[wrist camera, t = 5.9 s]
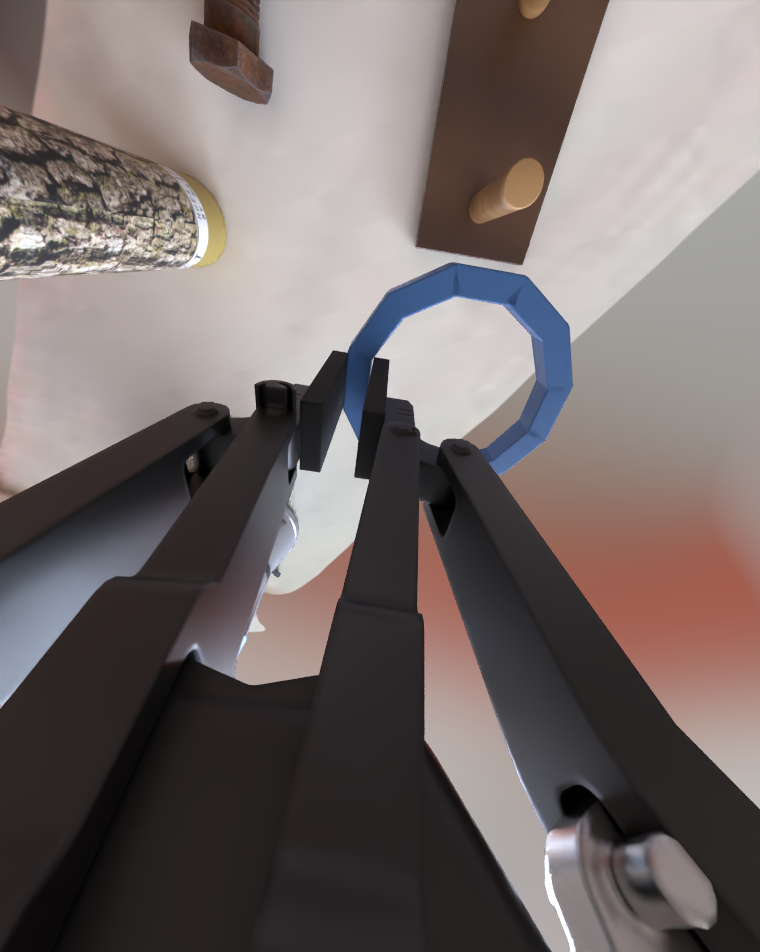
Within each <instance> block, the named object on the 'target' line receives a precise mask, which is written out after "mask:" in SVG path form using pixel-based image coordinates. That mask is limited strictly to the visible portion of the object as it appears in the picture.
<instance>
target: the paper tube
mask: <svg viewBox="0 0 760 952" xmlns="http://www.w3.org/2000/svg"><path fill="white" fill-rule="evenodd" d="M225 244H226V226H225V221H224V217H223V214H222V212H221V209H220V207H219V205H218V203H217V202H216V200H215V199H214V197H213V196H212V194H211V193H210V192H209V191H208V190H207V189H206V188H205V187H204V186H203V185H202V184H201V183H200V182H198V181H197V180H195V179H194V178H192V177H190V176H188V175H185V174H183V173H180V172H177V171H175V170H172V169H169V168H167V167H165V166H163V165H160V164H157V163H155V162H152V161H149V160H147V159H144V158H141V157H139V156H136V155H134V154H131V153H128V152H126V151H123V150H120V149H118V148H115V147H112V146H110V145H107V144H105V143H102V142H99V141H97V140H94V139H91V138H89V137H86V136H83V135H81V134H78V133H76V132H73V131H70V130H68V129H65V128H62V127H60V126H57V125H54V124H52V123H49V122H47V121H44V120H41V119H39V118H36V117H33V116H31V115H28V114H25V113H23V112H20V111H18V110H15V109H12V108H9V107H7V106H4V105H2V104H0V280H13V279H28V278H44V277H59V276H74V275H89V274H104V273H119V272H134V271H149V270H164V269H179V268H189V267H203V266H208V265H210V264H212V263H214V262H215V261H217V260H218V259H219V257H220V256H221V255H222V253H223V251H224V248H225Z"/></svg>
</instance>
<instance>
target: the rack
mask: <svg viewBox="0 0 760 952" xmlns="http://www.w3.org/2000/svg"><path fill="white" fill-rule="evenodd" d="M608 3H609V0H456V2H455V8H454V14H453V20H452V26H451V32H450V38H449V44H448V51H447V57H446V63H445V69H444V75H443V81H442V87H441V93H440V100H439V106H438V112H437V118H436V124H435V130H434V136H433V142H432V149H431V155H430V161H429V167H428V173H427V179H426V185H425V191H424V198H423V204H422V210H421V216H420V222H419V228H418V234H417V240H416V246H415V247H416V248H420V249H426V250H432V251H437V252H443V253H449V254H455V255H461V256H467V257H473V258H479V259H485V260H491V261H497V262H502V263H508V264H514V265H522V264H523V261H524V258H525V255H526V252H527V249H528V246H529V243H530V240H531V237H532V234H533V231H534V228H535V225H536V222H537V219H538V216H539V213H540V210H541V207H542V204H543V201H544V197H545V194H546V191H547V188H548V185H549V182H550V179H551V176H552V173H553V170H554V167H555V164H556V161H557V158H558V155H559V152H560V149H561V146H562V143H563V140H564V137H565V133H566V130H567V127H568V124H569V121H570V118H571V115H572V112H573V109H574V106H575V103H576V100H577V97H578V94H579V91H580V88H581V85H582V82H583V79H584V76H585V73H586V70H587V66H588V63H589V60H590V57H591V54H592V51H593V48H594V45H595V42H596V39H597V36H598V33H599V30H600V27H601V24H602V21H603V18H604V15H605V12H606V9H607V6H608Z"/></svg>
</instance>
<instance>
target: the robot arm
mask: <svg viewBox="0 0 760 952" xmlns="http://www.w3.org/2000/svg"><path fill="white" fill-rule="evenodd" d="M347 359H348V353H345V352H339V351H332V353H331V354H330V356H329V357H328V359H327V360H326V362H325V364H324V365H323V367H322V368H321V370H320V371H319V373H318V374H317V376H316V377H315V379H314V380H313V382H312V383H311V385H310V386H306V385H300V384H294V385H293V384H291V383H288V382H284V381H278V380H267V381H261V382H258V383H256V384H255V385H254V386H255V398H256V410H255V411H254V413H253V414H252V415H251V417H246V418H230V410H229V408H228V407H227V406H225V405H222V404H218V403H214V402H208V403H207V402H201V403H199V404H194V405H191V406H188V407H186V408H184V409H182V410H180V411H178V412H176V413H174V414H173V415H171V416H169V417H167V418H165V419H163V420H161V421H159V422H157V423H155V424H153V425H151V426H149V427H147V428H145V429H143V430H141V431H139V432H137V433H135V434H134V435H132V436H130V437H128V438H126V439H124V440H122V441H120V442H118V443H116V444H114V445H112V446H110V447H108V448H106V449H104V450H102V451H100V452H98V453H97V454H95V455H93V456H91V457H89V458H87V459H85V460H83V461H81V462H79V463H77V464H75V465H73V466H71V467H69V468H67V469H65V470H63V471H61V472H59V473H58V474H56V475H54V476H52V477H50V478H48V479H46V480H44V481H42V482H40V483H38V484H36V485H34V486H32V487H30V488H28V489H26V490H24V491H22V492H20V493H19V494H17V495H15V496H13V497H11V498H9V499H7V500H5V501H3V502H1V503H0V706H1V705H2V704H3V703H4V702H5V701H6V700H7V701H6V703H5V704H4V705H3V706H2V707H1V709H0V952H551V950H550V948H549V947H548V945H547V943H546V941H545V940H544V938H543V936H542V935H541V933H540V931H539V930H538V928H537V927H536V925H535V923H534V921H533V920H532V918H531V916H530V914H529V913H528V911H527V909H526V908H525V906H524V904H523V903H522V901H521V899H520V898H519V896H518V894H517V893H516V891H515V889H514V887H513V886H512V884H511V882H510V881H509V879H508V877H507V876H506V874H505V872H504V871H503V869H502V867H501V866H500V864H499V862H498V861H497V859H496V857H495V855H494V854H493V852H492V850H491V849H490V847H489V845H488V844H487V842H486V840H485V839H484V837H483V835H482V834H481V832H480V830H479V828H478V827H477V825H476V823H475V822H474V820H473V818H472V817H471V815H470V813H469V812H468V810H467V808H466V807H465V805H464V803H463V801H462V800H461V798H460V796H459V795H458V793H457V791H456V790H455V788H454V786H453V785H452V783H451V781H450V779H449V778H448V776H447V774H446V773H445V771H444V769H443V768H442V766H441V764H440V762H439V761H438V759H437V757H436V756H435V754H434V753H433V751H432V750H431V748H430V747H429V745H428V744H427V743H426V741H425V740H424V621H423V617H422V614H420V613H418V611H417V578H418V577H417V576H418V524H419V500H420V501H423V502H424V503H423V507H424V511H425V514H426V516H427V520H428V522H429V525H430V528H431V531H432V534H433V536H434V539H435V542H436V545H437V548H438V551H439V554H440V557H441V560H442V562H443V565H444V568H445V571H446V573H447V576H448V580H449V582H450V585H451V588H452V591H453V594H454V596H455V600H456V602H457V605H458V608H459V611H460V614H461V617H462V620H463V622H464V625H465V628H466V631H467V634H468V637H469V639H470V642H471V645H472V648H473V651H474V654H475V656H476V660H477V662H478V665H479V668H480V671H481V674H482V677H483V679H484V682H485V685H486V688H487V691H488V694H489V697H490V699H491V702H492V705H493V708H494V711H495V714H496V717H497V719H498V722H499V725H500V728H501V731H502V734H503V737H504V740H505V742H506V745H507V748H508V750H509V753H510V756H511V758H512V760H513V763H514V766H515V768H516V771H517V773H518V776H519V778H520V781H521V783H522V785H523V787H524V789H525V791H526V794H527V796H528V798H529V800H530V802H531V804H532V806H533V808H534V810H535V812H536V814H537V817H538V819H539V821H540V823H541V824H542V826H543V828H544V830H545V831H546V833H547V835H548V837H547V842H546V846H545V885H546V889H547V892H548V896H549V900H550V902H551V903H552V905H553V907H554V909H555V911H556V913H557V914H558V916H559V917H560V919H561V922H562V924H563V927H564V929H565V932H566V935H567V937H568V940H569V943H570V948H571V952H760V809H759V808H758V807H757V806H756V805H755V804H754V803H753V802H752V801H751V800H750V799H749V798H748V797H747V796H746V795H745V794H744V793H743V792H742V791H741V790H740V789H739V788H738V787H737V786H736V785H735V784H734V783H733V782H732V781H731V780H730V779H729V778H728V777H727V776H726V775H725V774H724V773H723V772H722V771H721V770H720V769H719V768H718V767H717V766H716V765H715V764H714V763H713V762H712V760H710V759H709V757H708V756H707V755H705V754H704V753H703V751H702V750H701V749H700V748H699V747H698V746H697V745H696V744H695V743H694V742H693V741H692V740H691V739H690V738H689V737H688V736H687V735H686V734H685V733H684V732H683V731H682V730H681V729H680V728H679V727H678V726H677V725H676V724H675V722H674V721H673V720H672V718H671V717H670V716H669V714H668V713H667V711H666V710H665V709H664V707H663V706H662V704H661V703H660V701H659V700H658V699H657V697H656V696H655V695H654V693H653V692H652V690H651V689H650V688H649V686H648V685H647V683H646V682H645V681H644V679H643V678H642V676H641V675H640V674H639V672H638V671H637V669H636V668H635V667H634V665H633V664H632V663H631V661H630V660H629V658H628V657H627V655H626V654H625V653H624V651H623V650H622V648H621V647H620V646H619V644H618V643H617V642H616V640H615V639H614V637H613V636H612V634H611V633H610V632H609V630H608V629H607V627H606V626H605V625H604V623H603V622H602V620H601V619H600V618H599V616H598V615H597V613H596V612H595V611H594V609H593V608H592V607H591V605H590V604H589V602H588V601H587V599H586V598H585V597H584V595H583V594H582V593H581V591H580V590H579V588H578V587H577V586H576V584H575V583H574V581H573V580H572V579H571V577H570V576H569V574H568V573H567V572H566V570H565V569H564V567H563V566H562V565H561V563H560V562H559V560H558V559H557V558H556V556H555V555H554V554H553V552H552V551H551V549H550V548H549V546H548V545H547V544H546V542H545V541H544V539H543V538H542V537H541V535H540V534H539V532H538V531H537V530H536V528H535V527H534V525H533V524H532V523H531V521H530V520H529V519H528V517H527V516H526V514H525V513H524V512H523V510H522V509H521V508H520V506H519V504H518V503H517V502H516V500H515V499H514V497H513V496H512V495H511V494H510V492H509V491H508V489H507V488H506V486H505V485H504V484H503V482H502V481H501V479H500V478H499V477H498V475H497V474H496V472H495V471H494V470H493V468H492V467H491V465H490V464H489V463H488V461H487V460H486V458H485V457H484V456H483V454H482V453H481V451H480V450H479V449H478V448H477V447H476V446H474V445H473V444H471V443H470V442H468V441H466V440H465V441H464V440H463V439H446V440H443V442H442V443H441V445H440V447H436V446H433V445H431V444H428V443H426V442H424V441H422V440H421V439H420V432H419V430H418V429H417V428H416V427H415V422H414V412H413V406H412V405H411V404H410V402H409V401H407V400H400V399H394V398H388V397H387V384H388V371H389V360H388V359H382V358H376V357H374V361H373V366H372V370H371V375H370V379H369V383H368V388H367V392H366V397H365V401H364V406H363V410H362V418H361V426H360V434H359V442H358V451H357V459H356V467H355V475H354V477H355V478H362V479H369V484H368V488H367V492H366V496H365V500H364V505H363V509H362V513H361V517H360V521H359V525H358V529H357V533H356V537H355V541H354V546H353V550H352V554H351V558H350V562H349V567H348V570H347V575H346V579H345V583H344V587H343V591H342V595H341V598H339V600H338V602H337V606H336V609H335V613H334V617H333V621H332V625H331V629H330V633H329V637H328V641H327V645H326V649H325V653H324V657H323V661H322V665H321V669H320V673H319V675H316V676H310V677H304V678H298V679H292V680H286V681H280V682H274V683H268V684H261V685H248V684H245V683H243V682H240V681H238V680H236V679H235V670H236V662H237V657H238V655H239V653H240V651H241V649H242V647H243V645H244V644H245V642H246V639H247V638H246V636H247V634H248V631H249V628H250V626H251V623H252V621H253V618H254V615H255V613H256V610H257V607H258V605H259V602H260V599H261V597H262V594H263V592H264V589H265V587H266V584H267V581H268V579H269V576H270V574H271V573H273V574H274V575H275V576H276V577H279V576H280V573H279V572H278V571H277V570H276V569H275V568H276V567H277V566H278V565H279V564H280V562H281V561H282V560H283V559H284V558H285V557H286V556H287V555H288V553H289V552H290V551H291V550H292V548H293V546H294V544H295V541H296V538H297V536H298V529H299V528H298V522H297V519H296V517H295V515H294V513H293V511H292V510H291V509H290V507H289V506H288V505H287V504H288V501H289V498H290V495H291V492H292V489H293V486H294V483H295V480H296V477H297V463H298V460H299V458H300V470H307V471H314V472H320V471H321V468H322V465H323V462H324V459H325V457H326V454H327V451H328V448H329V445H330V442H331V440H332V437H333V434H334V431H335V428H336V425H337V423H338V420H339V417H340V414H341V411H342V408H343V406H344V394H345V382H346V371H347ZM191 455H193V460H194V464H195V467H193V468H192V469H190V470H188V468H187V465H186V461H187V459H188V458H189V457H190V456H191Z"/></svg>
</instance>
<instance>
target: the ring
mask: <svg viewBox="0 0 760 952" xmlns="http://www.w3.org/2000/svg"><path fill="white" fill-rule="evenodd" d="M453 297H461V298H467V299H472V300H478V301H484V302H489V303H495V304H500V305H503V306H504V307H505V308H506V309H507V310H508V311H509V312H510V313H511V314H512V315H513V316H514V317H515V319H516V320H517V321H518V322H519V323H520V324H521V325H522V326H523V327H524V328H525V329H526V330H527V332H528V333H529V334H530V335H531V338H532V346H533V355H534V363H535V371H536V383H535V385H534V387H533V390H532V392H531V394H530V396H529V399H528V401H527V403H526V405H525V408H524V410H523V412H522V415H521V417H520V419H519V420H518V421H517V422H516V423H515V424H513V425H512V426H511V427H510V428H509V429H508V430H507V431H505V432H504V433H503V434H502V435H501V436H500V437H498V438H497V439H496V440H495V441H494V442H493V443H491V444H490V445H489V446H488V447H487V448H484V449H480V451H481V453H482V454H483V456H484V457H485V458H486V460H487V461H488V463H489V464H490V465H491V467H492V468H493V470H494V471H495V472H496V474H497V475H501V474H503V473H505V472H506V471H507V470H508V469H510V468H511V467H512V466H513V465H515V464H516V463H517V462H519V461H520V460H521V459H522V458H524V457H525V456H526V455H528V454H529V453H530V452H531V451H533V450H534V449H535V448H536V447H538V446H539V445H540V444H542V443H543V442H544V441H545V439H546V438H547V436H548V434H549V432H550V430H551V428H552V426H553V424H554V423H555V421H556V418H557V417H558V415H559V413H560V411H561V408H562V407H563V405H564V403H565V401H566V399H567V397H568V395H569V393H570V391H571V389H572V387H573V384H572V364H571V346H570V328H569V325H568V323H567V322H566V321H565V320H564V318H563V317H562V316H561V315H560V314H559V313H558V311H557V310H556V309H555V308H554V307H553V306H552V304H551V303H550V302H549V301H548V300H547V299H546V297H545V296H544V295H543V294H542V293H541V292H540V290H539V289H538V288H537V287H536V286H535V285H534V283H533V282H532V281H531V280H530V279H529V278H528V277H527V276H525V275H520V274H515V273H510V272H504V271H499V270H493V269H488V268H482V267H477V266H471V265H466V264H460V263H454V262H452V263H448V264H446V265H443V266H441V267H439V268H437V269H435V270H432V271H430V272H428V273H426V274H423V275H421V276H419V277H417V278H414V279H412V280H410V281H408V282H406V283H403V284H401V285H399V286H397V287H394V288H392V289H390V290H389V291H388V292H387V293H386V294H385V296H384V297H383V299H382V300H381V301H380V303H379V304H378V306H377V307H376V308H375V310H374V311H373V313H372V314H371V316H370V317H369V318H368V320H367V321H366V323H365V324H364V326H363V327H362V328H361V330H360V331H359V333H358V334H357V335H356V337H355V338H354V340H353V341H352V343H351V345H350V347H349V350H348V359H347V371H346V382H345V394H344V406H343V410H344V412H345V414H346V416H347V418H348V420H349V422H350V424H351V426H352V428H353V430H354V432H355V434H356V436H357V439H358V441H359V434H360V426H361V418H362V410H363V406H364V401H365V397H366V392H367V388H368V383H369V379H370V373H371V366H372V359H373V358H374V357H375V355H376V354H377V353H378V351H379V350H380V349H381V347H382V346H383V345H384V343H385V342H386V341H387V340H388V338H389V337H390V336H391V334H392V333H393V332H394V330H395V329H396V328H397V326H398V325H399V324H400V322H401V321H402V320H403V319H404V318H406V317H408V316H411V315H413V314H415V313H418V312H420V311H422V310H425V309H427V308H430V307H432V306H434V305H437V304H439V303H441V302H444V301H446V300H449V299H451V298H453Z"/></svg>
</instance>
